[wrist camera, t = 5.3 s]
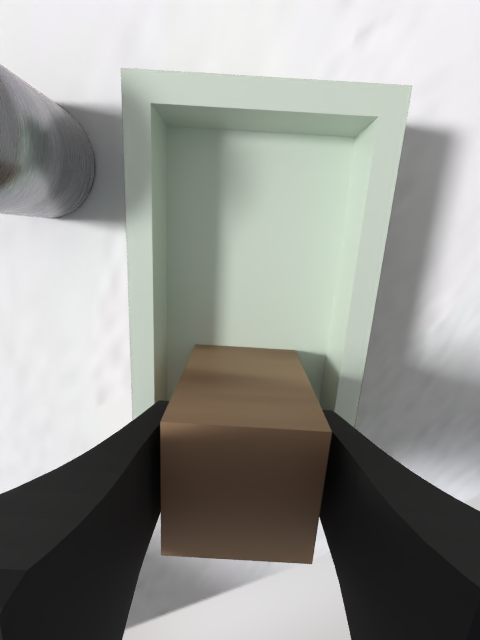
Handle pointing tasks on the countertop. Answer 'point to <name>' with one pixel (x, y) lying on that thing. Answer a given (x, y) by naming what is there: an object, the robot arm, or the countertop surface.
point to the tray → (256, 221)
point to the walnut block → (242, 457)
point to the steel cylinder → (40, 153)
